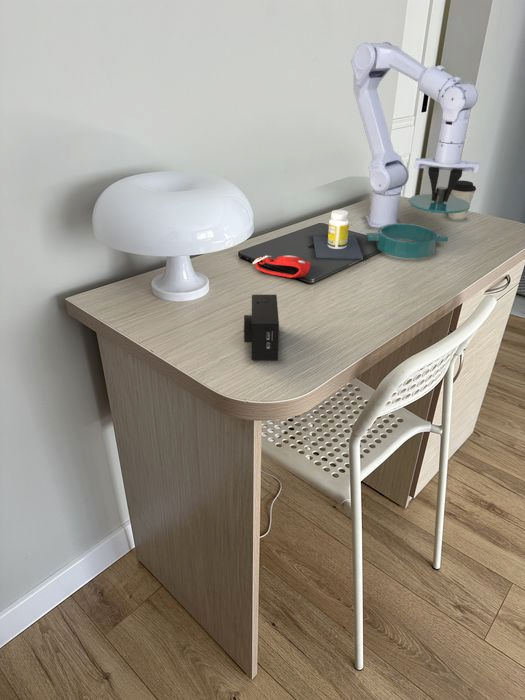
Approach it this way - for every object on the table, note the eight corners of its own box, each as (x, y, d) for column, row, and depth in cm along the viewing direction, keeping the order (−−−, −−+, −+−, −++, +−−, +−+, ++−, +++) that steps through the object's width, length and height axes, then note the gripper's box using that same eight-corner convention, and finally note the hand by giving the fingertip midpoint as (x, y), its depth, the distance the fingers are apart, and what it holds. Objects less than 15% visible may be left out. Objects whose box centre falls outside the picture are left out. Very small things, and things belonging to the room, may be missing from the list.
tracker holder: (293, 254, 118) (321, 258, 110) (291, 273, 119) (319, 278, 111) (249, 252, 111) (276, 256, 103) (248, 273, 112) (274, 278, 104)
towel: (312, 237, 131) (312, 235, 130) (355, 238, 130) (355, 236, 130) (316, 258, 119) (316, 256, 119) (363, 259, 119) (363, 257, 118)
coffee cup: (462, 214, 148) (470, 179, 143) (473, 221, 142) (482, 185, 137) (439, 215, 147) (446, 179, 142) (450, 222, 141) (457, 186, 136)
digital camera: (245, 328, 91) (244, 293, 87) (275, 328, 91) (276, 293, 87) (244, 361, 82) (243, 323, 78) (277, 360, 82) (279, 323, 78)
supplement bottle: (347, 243, 126) (351, 210, 121) (345, 250, 122) (349, 216, 118) (328, 241, 127) (331, 208, 122) (325, 248, 123) (328, 214, 119)
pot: (361, 239, 130) (363, 222, 128) (436, 240, 130) (439, 224, 127) (370, 259, 118) (372, 242, 116) (451, 261, 118) (455, 243, 116)
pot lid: (412, 195, 134) (415, 178, 132) (470, 202, 130) (474, 183, 127) (404, 211, 123) (407, 192, 120) (467, 218, 118) (472, 199, 116)
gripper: (482, 140, 120) (469, 198, 127) (419, 136, 123) (410, 193, 130) (484, 146, 114) (471, 206, 121) (418, 142, 117) (408, 200, 125)
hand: (439, 200), depth 125 cm, fingers closed on pot lid, 2 cm apart
